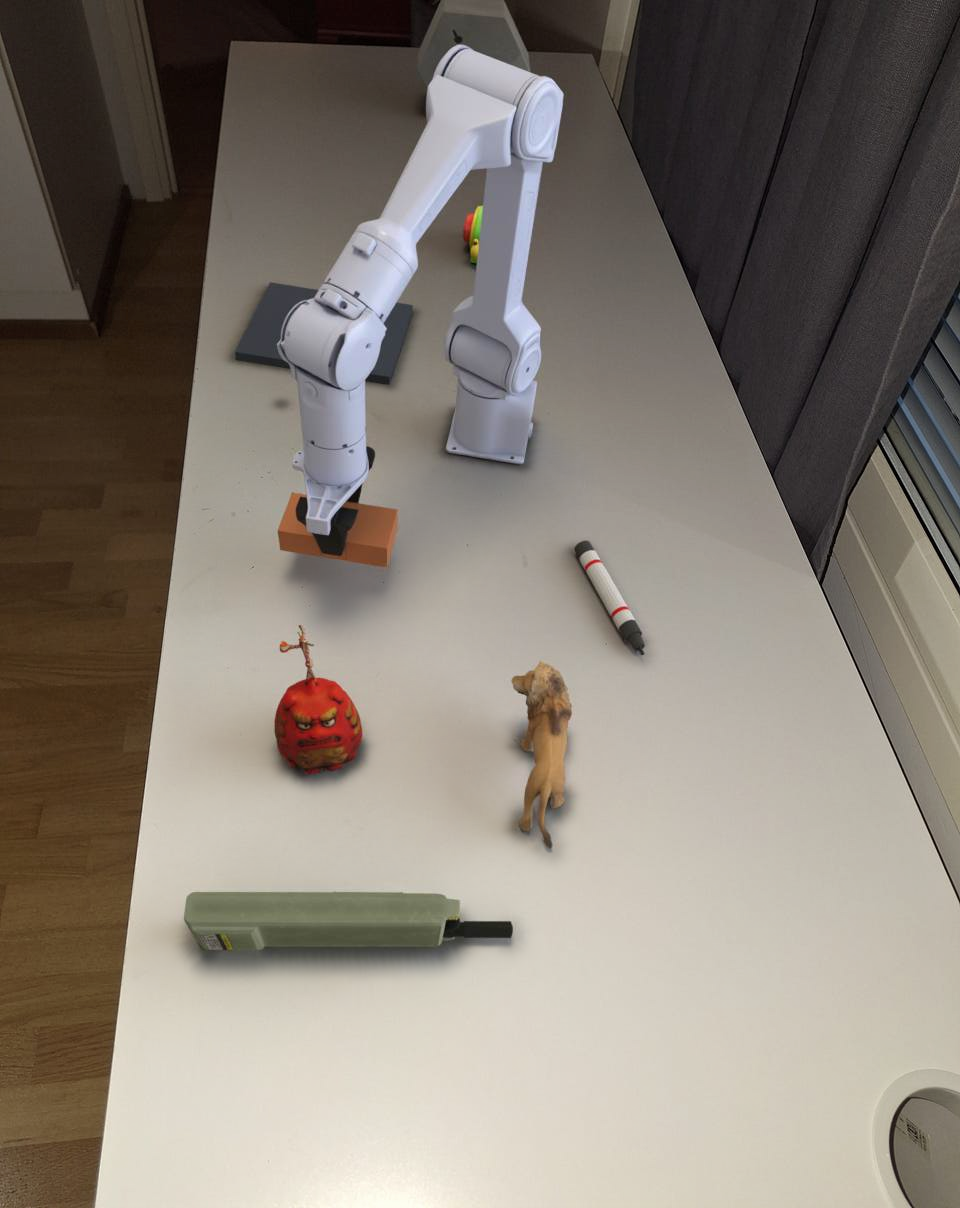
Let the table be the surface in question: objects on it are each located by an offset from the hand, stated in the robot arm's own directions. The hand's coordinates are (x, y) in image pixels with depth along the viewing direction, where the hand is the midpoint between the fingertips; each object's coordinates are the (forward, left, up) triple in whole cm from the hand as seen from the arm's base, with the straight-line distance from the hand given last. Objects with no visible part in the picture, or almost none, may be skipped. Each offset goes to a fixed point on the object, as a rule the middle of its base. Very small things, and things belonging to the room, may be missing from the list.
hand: (339, 530), depth 91 cm
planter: (+2, -109, -6) cm, 109 cm away
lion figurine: (-23, +20, -6) cm, 31 cm away
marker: (-29, -1, -6) cm, 30 cm away
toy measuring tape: (-7, -69, -6) cm, 70 cm away
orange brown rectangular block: (0, 0, -1) cm, 1 cm away
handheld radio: (-10, +37, -6) cm, 39 cm away
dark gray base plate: (+11, -39, -6) cm, 41 cm away
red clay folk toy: (-3, +21, -6) cm, 22 cm away
